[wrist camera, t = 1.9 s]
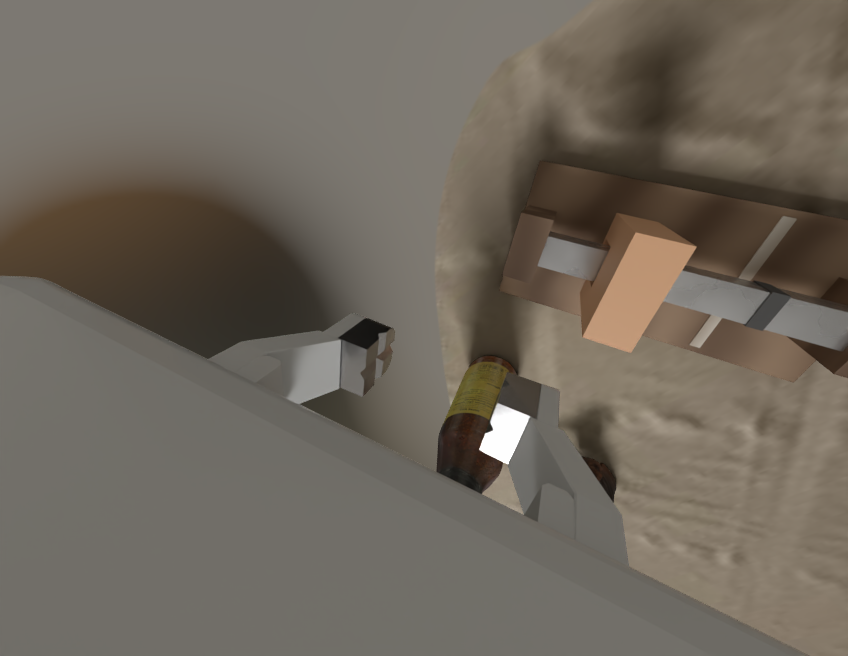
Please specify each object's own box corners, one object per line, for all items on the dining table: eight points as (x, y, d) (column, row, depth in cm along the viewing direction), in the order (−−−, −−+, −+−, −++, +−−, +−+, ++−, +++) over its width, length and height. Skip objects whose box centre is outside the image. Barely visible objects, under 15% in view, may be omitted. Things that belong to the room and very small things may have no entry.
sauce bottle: (458, 369, 40) (379, 509, 23) (495, 343, 36) (432, 488, 20) (493, 405, 40) (439, 570, 24) (533, 384, 36) (502, 560, 20)
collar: (658, 222, 24) (696, 246, 17) (615, 303, 28) (630, 353, 20) (616, 212, 25) (635, 232, 17) (579, 292, 28) (582, 337, 21)
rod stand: (925, 235, 20) (1049, 259, 15) (786, 375, 27) (840, 428, 21) (541, 160, 27) (533, 159, 22) (500, 287, 33) (486, 311, 28)
